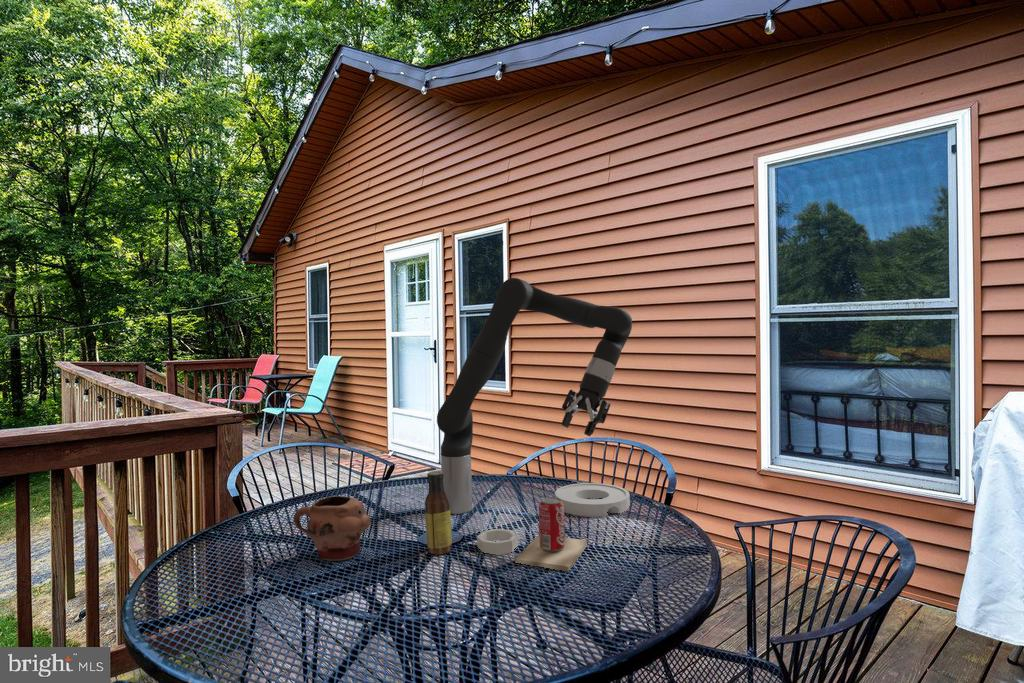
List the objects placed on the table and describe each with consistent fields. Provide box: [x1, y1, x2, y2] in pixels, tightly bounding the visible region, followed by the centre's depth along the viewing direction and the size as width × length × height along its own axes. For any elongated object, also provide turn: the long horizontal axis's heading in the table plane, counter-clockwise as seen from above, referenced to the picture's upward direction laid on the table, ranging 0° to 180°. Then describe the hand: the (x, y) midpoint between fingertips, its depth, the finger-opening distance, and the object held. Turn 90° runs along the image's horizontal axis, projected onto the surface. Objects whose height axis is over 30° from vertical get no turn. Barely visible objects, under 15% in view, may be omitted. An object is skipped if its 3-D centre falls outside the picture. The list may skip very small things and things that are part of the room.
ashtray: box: [554, 482, 631, 518], centre depth 180 cm, size 23×23×4 cm
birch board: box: [514, 534, 588, 572], centre depth 141 cm, size 13×17×1 cm
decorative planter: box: [292, 495, 372, 562], centre depth 143 cm, size 20×12×14 cm, turn 88°
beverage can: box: [538, 496, 566, 552], centre depth 142 cm, size 6×6×12 cm
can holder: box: [476, 528, 519, 556], centre depth 146 cm, size 10×10×3 cm
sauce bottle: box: [424, 470, 453, 556], centre depth 144 cm, size 6×6×20 cm
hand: (575, 430), depth 159 cm, fingers open, 8 cm apart
